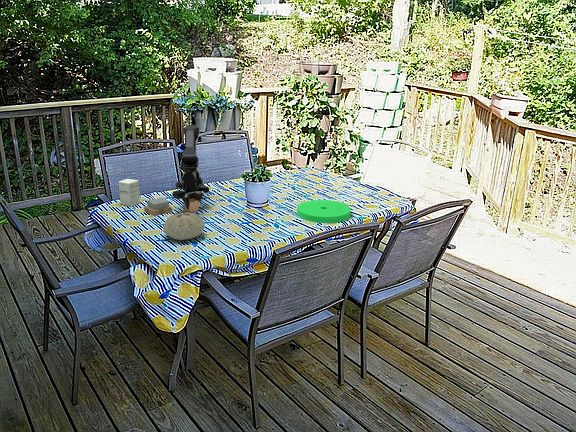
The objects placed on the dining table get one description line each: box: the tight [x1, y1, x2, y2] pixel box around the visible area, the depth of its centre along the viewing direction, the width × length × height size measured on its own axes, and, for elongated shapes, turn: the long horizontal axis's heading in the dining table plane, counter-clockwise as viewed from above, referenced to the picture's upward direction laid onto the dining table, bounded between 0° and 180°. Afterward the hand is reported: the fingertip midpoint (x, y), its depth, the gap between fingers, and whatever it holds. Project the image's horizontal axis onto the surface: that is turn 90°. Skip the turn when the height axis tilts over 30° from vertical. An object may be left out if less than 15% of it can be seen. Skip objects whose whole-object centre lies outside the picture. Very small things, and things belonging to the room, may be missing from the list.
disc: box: [296, 199, 352, 224], centre depth 254 cm, size 27×27×3 cm
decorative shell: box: [163, 211, 205, 241], centre depth 222 cm, size 18×18×10 cm
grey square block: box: [147, 197, 170, 210], centre depth 253 cm, size 8×8×3 cm
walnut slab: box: [143, 205, 173, 217], centre depth 253 cm, size 10×10×3 cm
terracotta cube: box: [184, 199, 200, 213], centre depth 256 cm, size 5×5×5 cm
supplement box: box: [118, 178, 141, 207], centre depth 262 cm, size 7×7×13 cm
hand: (191, 207), depth 256 cm, fingers closed on terracotta cube, 5 cm apart
